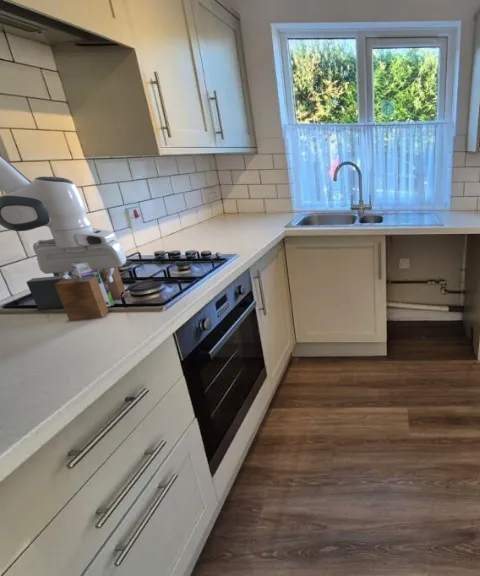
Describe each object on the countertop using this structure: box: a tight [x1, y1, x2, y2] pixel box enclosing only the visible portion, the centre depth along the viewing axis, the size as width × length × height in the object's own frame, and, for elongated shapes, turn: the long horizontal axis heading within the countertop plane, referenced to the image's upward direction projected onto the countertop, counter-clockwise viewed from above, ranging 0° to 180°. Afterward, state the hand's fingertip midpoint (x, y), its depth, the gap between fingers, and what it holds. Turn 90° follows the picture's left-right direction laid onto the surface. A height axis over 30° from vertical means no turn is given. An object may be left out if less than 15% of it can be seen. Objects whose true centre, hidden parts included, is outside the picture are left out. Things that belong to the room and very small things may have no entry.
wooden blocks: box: [54, 267, 127, 322], centre depth 106 cm, size 8×17×11 cm, turn 14°
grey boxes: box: [25, 272, 73, 311], centre depth 113 cm, size 10×15×9 cm, turn 14°
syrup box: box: [71, 263, 115, 308], centre depth 105 cm, size 6×6×14 cm
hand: (91, 283), depth 105 cm, fingers closed on syrup box, 8 cm apart
